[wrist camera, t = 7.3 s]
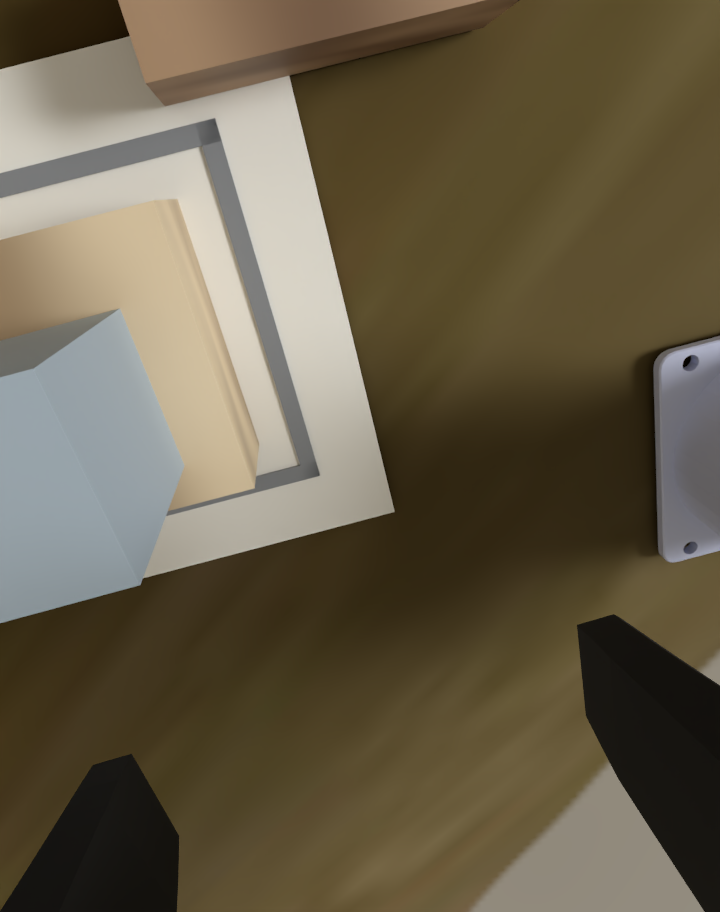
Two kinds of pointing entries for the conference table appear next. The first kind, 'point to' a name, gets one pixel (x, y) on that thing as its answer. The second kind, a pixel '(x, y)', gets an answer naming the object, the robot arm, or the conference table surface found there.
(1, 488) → the grey rectangular block
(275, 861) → the conference table surface
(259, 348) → the white square board
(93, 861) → the robot arm
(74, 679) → the conference table surface
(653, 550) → the conference table surface
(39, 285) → the maple slab
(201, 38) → the walnut bar
